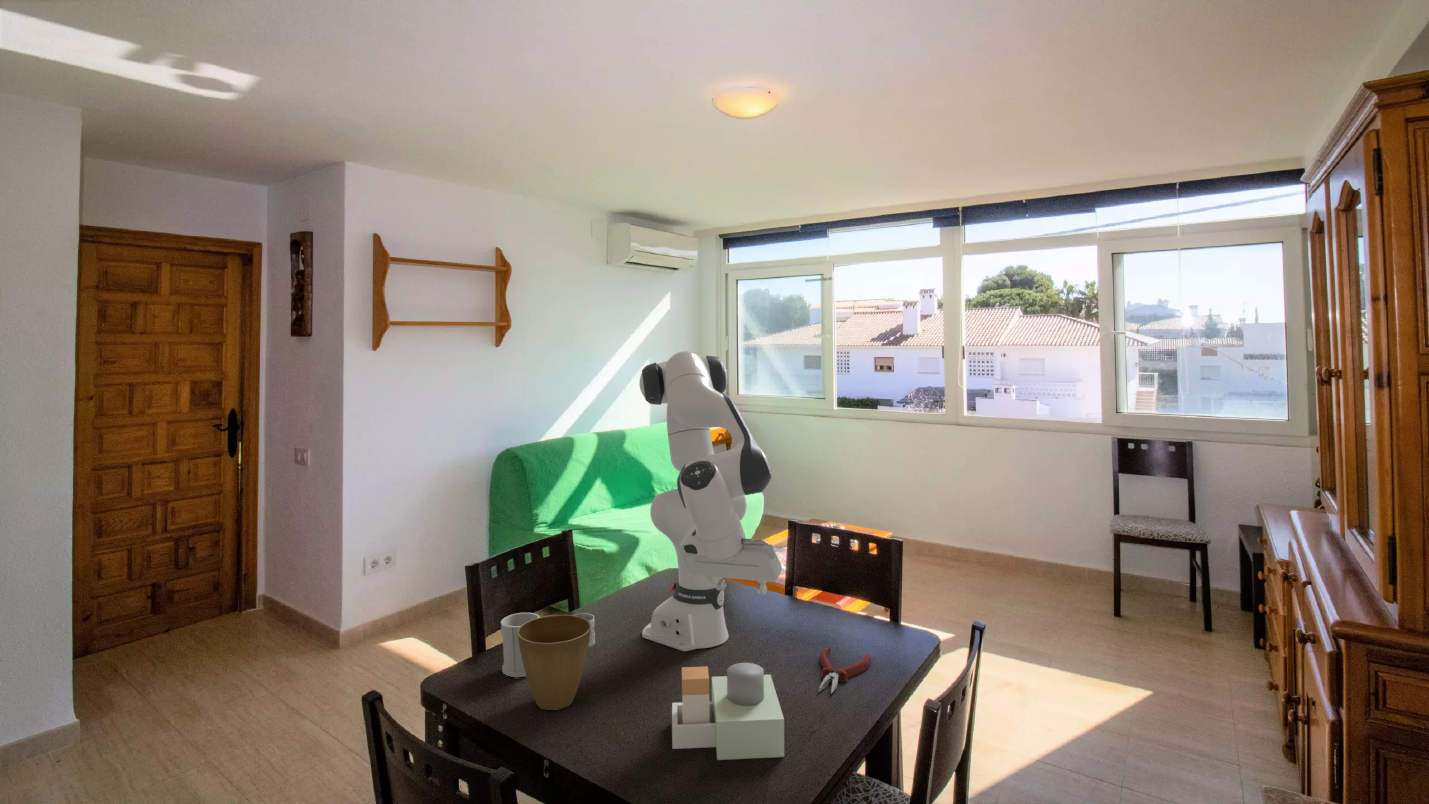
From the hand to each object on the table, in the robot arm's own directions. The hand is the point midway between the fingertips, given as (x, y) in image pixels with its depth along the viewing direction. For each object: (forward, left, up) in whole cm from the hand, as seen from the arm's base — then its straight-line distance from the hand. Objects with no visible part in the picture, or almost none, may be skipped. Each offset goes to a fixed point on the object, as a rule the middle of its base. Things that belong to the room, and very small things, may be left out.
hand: (742, 590), depth 137 cm
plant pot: (-35, -16, -24) cm, 46 cm away
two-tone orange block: (-3, -14, -24) cm, 28 cm away
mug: (-50, +10, -24) cm, 57 cm away
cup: (-51, -8, -24) cm, 57 cm away
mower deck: (+1, -11, -24) cm, 27 cm away
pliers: (+12, +22, -25) cm, 35 cm away
